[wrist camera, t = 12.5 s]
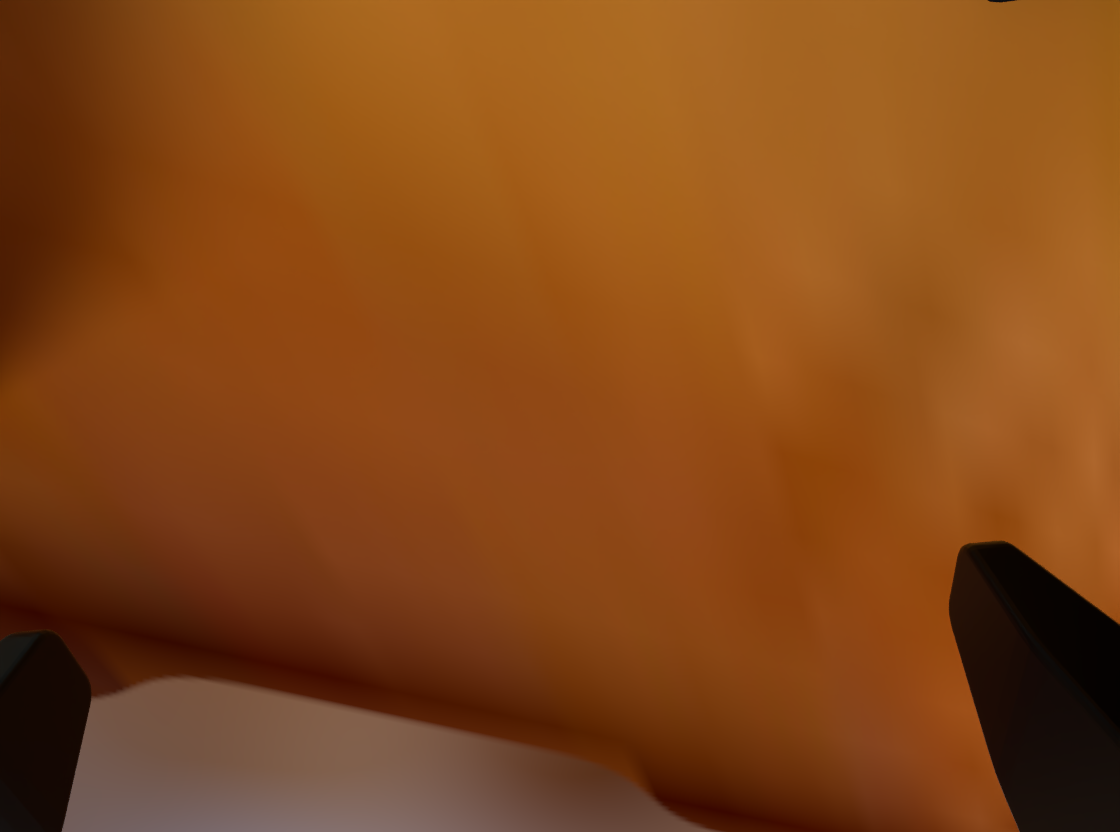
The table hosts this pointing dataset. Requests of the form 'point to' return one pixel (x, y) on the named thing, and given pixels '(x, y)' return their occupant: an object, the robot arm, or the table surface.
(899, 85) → the table surface
